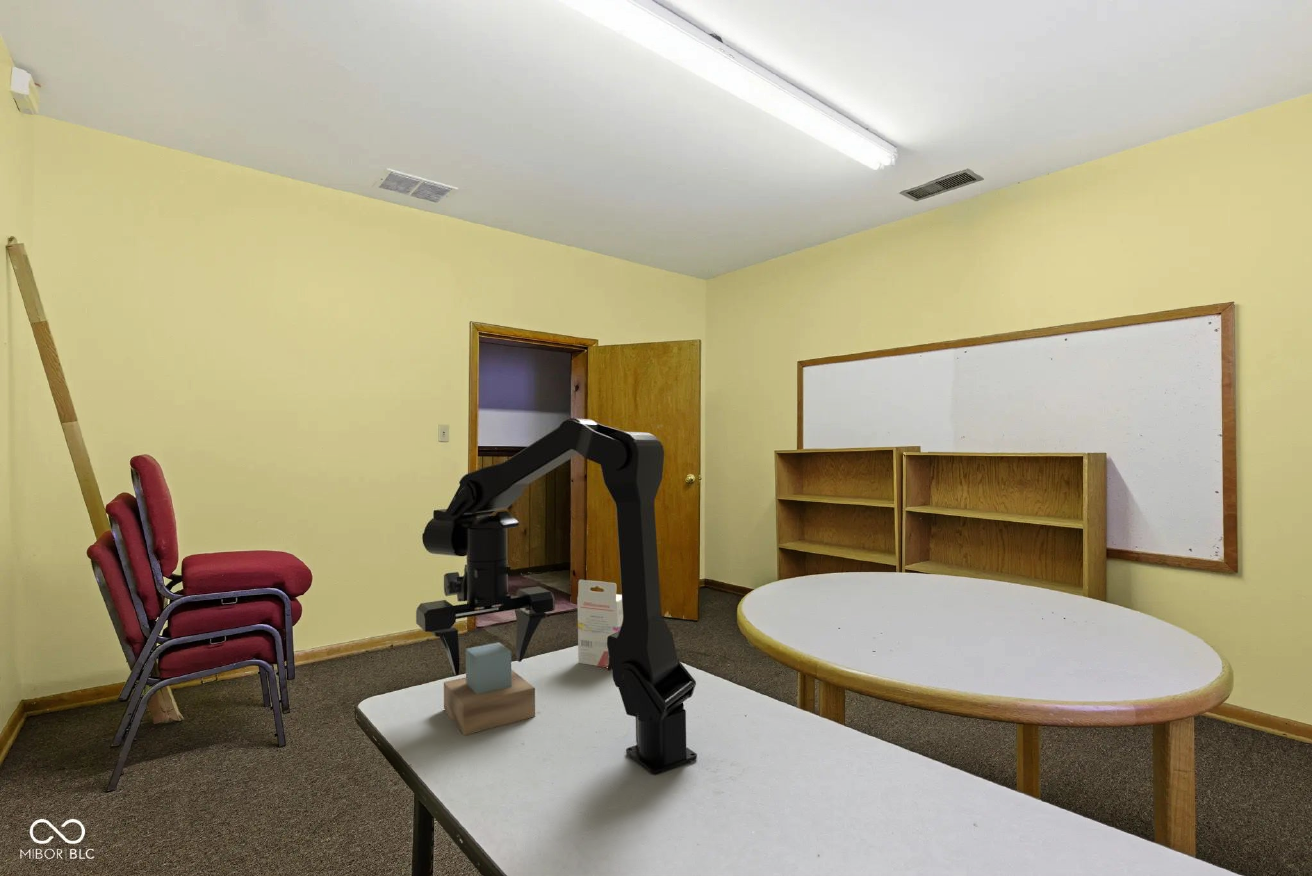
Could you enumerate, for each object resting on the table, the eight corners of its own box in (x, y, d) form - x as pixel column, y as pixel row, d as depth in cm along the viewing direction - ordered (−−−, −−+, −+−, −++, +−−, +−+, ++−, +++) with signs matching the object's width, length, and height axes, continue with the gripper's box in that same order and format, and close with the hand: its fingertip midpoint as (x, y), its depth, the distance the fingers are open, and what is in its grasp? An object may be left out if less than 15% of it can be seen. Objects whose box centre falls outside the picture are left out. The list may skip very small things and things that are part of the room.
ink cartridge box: (633, 661, 111) (631, 578, 111) (618, 670, 106) (617, 583, 106) (592, 654, 115) (591, 574, 115) (576, 663, 110) (575, 579, 110)
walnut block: (535, 716, 88) (534, 687, 88) (464, 735, 83) (464, 704, 83) (509, 693, 97) (509, 667, 97) (443, 709, 91) (443, 682, 91)
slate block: (511, 686, 89) (511, 651, 89) (476, 694, 86) (476, 658, 86) (499, 676, 93) (499, 642, 93) (466, 683, 90) (465, 648, 91)
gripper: (527, 545, 102) (528, 641, 102) (406, 558, 92) (407, 665, 91) (555, 554, 93) (557, 660, 92) (425, 569, 82) (426, 688, 82)
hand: (488, 667), depth 90 cm, fingers open, 9 cm apart
